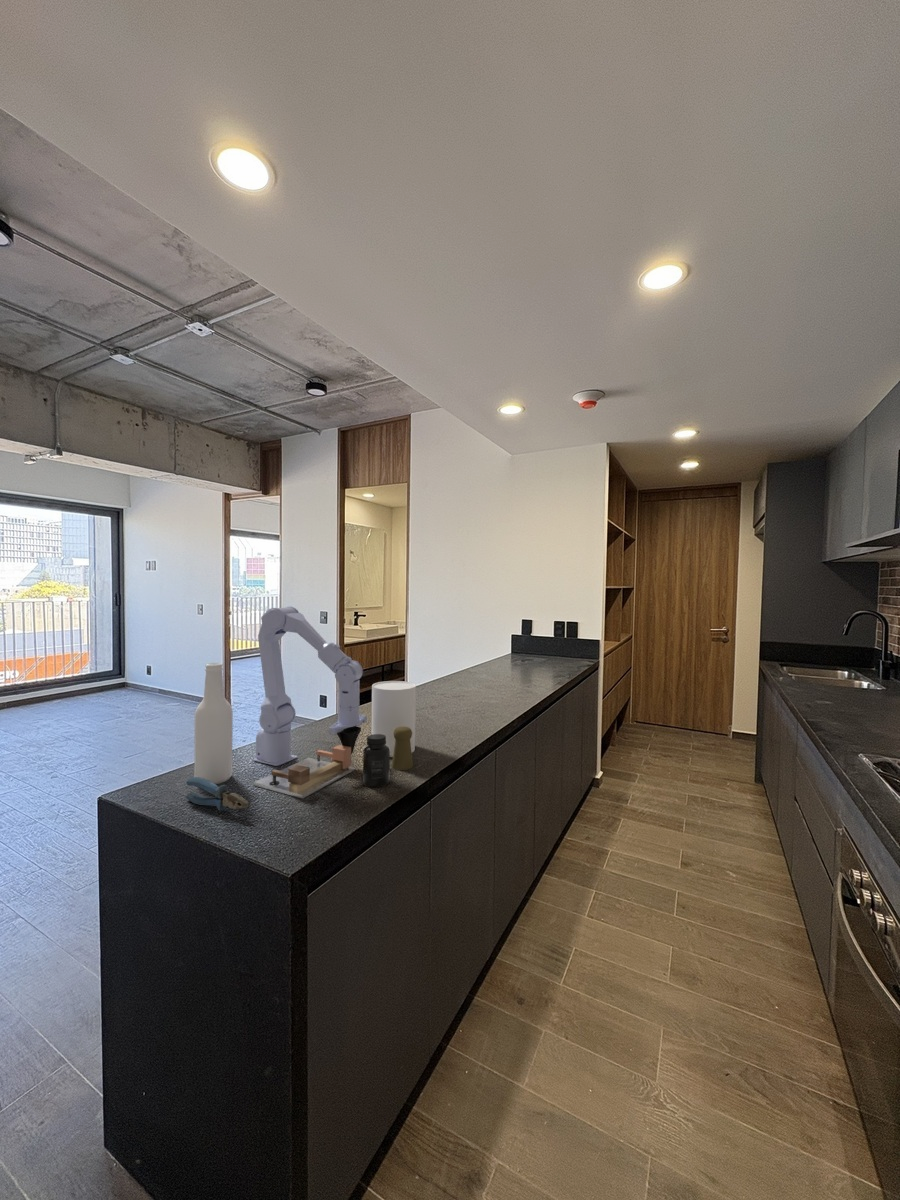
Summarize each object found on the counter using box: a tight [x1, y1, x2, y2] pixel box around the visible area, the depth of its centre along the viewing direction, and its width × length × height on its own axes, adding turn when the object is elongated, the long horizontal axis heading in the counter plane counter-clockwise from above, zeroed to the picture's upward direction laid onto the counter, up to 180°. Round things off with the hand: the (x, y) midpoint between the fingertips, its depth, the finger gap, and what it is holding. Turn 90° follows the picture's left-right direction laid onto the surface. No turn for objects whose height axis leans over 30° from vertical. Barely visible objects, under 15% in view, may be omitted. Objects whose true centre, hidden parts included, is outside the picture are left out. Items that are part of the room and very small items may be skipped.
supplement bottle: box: [362, 734, 391, 788], centre depth 126 cm, size 7×7×12 cm
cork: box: [391, 727, 414, 771], centre depth 137 cm, size 6×6×11 cm
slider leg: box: [315, 744, 352, 769], centre depth 135 cm, size 10×3×5 cm, turn 64°
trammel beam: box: [270, 760, 343, 794], centre depth 127 cm, size 10×20×5 cm, turn 154°
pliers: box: [186, 776, 250, 811], centre depth 109 cm, size 20×2×6 cm, turn 61°
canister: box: [370, 680, 417, 758], centre depth 151 cm, size 14×14×20 cm
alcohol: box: [193, 662, 234, 785], centre depth 125 cm, size 9×9×30 cm
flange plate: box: [253, 757, 355, 799], centre depth 128 cm, size 16×20×1 cm
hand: (348, 753), depth 136 cm, fingers closed
